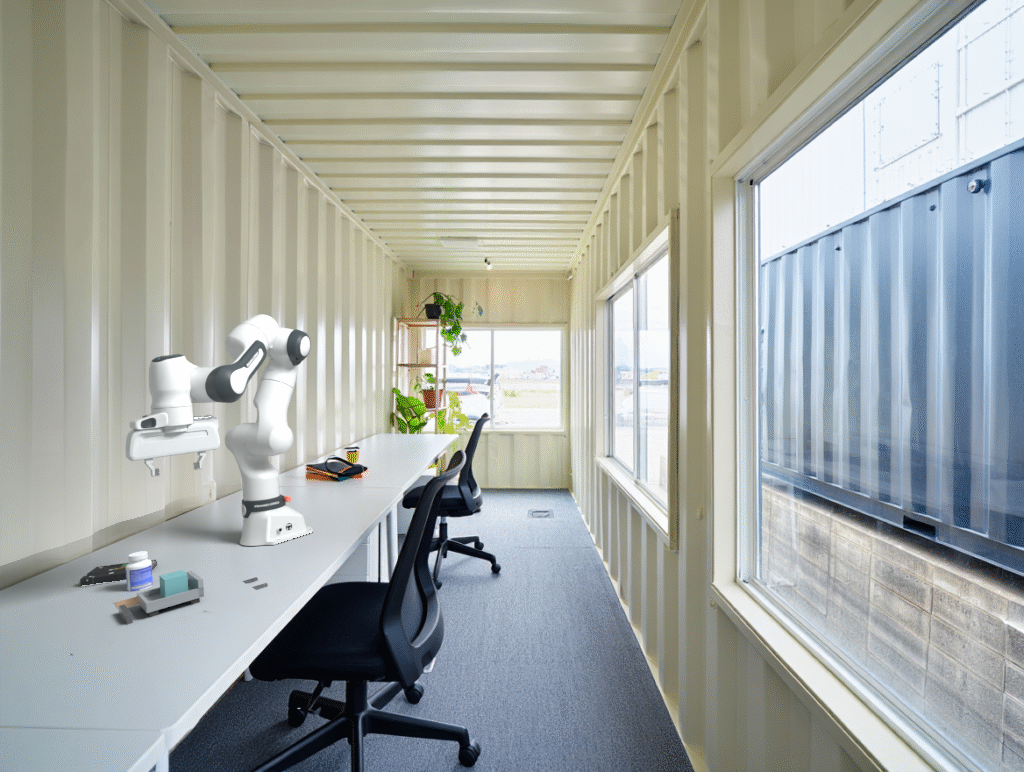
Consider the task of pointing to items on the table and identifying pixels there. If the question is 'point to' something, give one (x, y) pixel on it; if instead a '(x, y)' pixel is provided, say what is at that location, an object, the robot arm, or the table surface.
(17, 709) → the table surface
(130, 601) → the pad
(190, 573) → the grey sliding tray
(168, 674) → the table surface
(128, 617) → the rails
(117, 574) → the disk drive
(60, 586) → the table surface
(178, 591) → the block
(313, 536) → the table surface
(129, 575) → the pill bottle
